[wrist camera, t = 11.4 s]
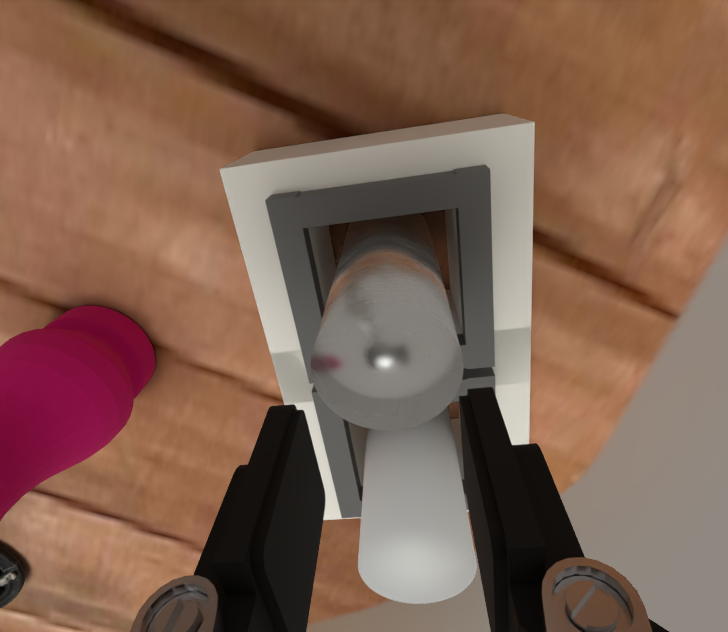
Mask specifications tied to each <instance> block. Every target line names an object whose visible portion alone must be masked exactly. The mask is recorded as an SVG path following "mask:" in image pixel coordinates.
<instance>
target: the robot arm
mask: <svg viewBox="0 0 728 632" xmlns="http://www.w3.org/2000/svg"><path fill="white" fill-rule="evenodd" d="M459 409H460V424H461V438H462V453H463V468H464V482H465V491H466V497H467V503H468V509H469V514H470V519H471V525H472V530H473V536H474V541H475V547H476V552H477V558H478V563H479V569H480V574H481V580H482V585H483V590H484V596H485V601H486V607H487V612H488V618H489V624H490V629H491V632H669V631H667V630H666V629H664V628H663V627H661V626H659V625H658V624H656V623H655V622H653V621H652V620H650V619H649V618H648V616H647V613H646V610H645V607H644V604H643V602H642V600H641V598H640V596H639V594H638V592H637V590H636V589H635V588H634V587H633V586H632V584H631V583H630V582H629V581H628V580H627V579H626V577H624V576H623V575H621V574H620V573H619V572H618V571H616V570H615V569H614V568H612V567H610V566H608V565H606V564H603V563H602V562H599V561H597V560H592V559H588V558H585V557H584V554H583V552H582V549H581V547H580V544H579V542H578V539H577V537H576V535H575V532H574V530H573V527H572V525H571V522H570V520H569V518H568V515H567V513H566V510H565V508H564V505H563V503H562V500H561V498H560V495H559V493H558V490H557V488H556V485H555V483H554V481H553V478H552V476H551V473H550V471H549V468H548V466H547V463H546V461H545V458H544V456H543V454H542V451H541V449H540V447H539V446H538V444H537V443H535V444H521V445H512V444H511V441H510V438H509V435H508V432H507V429H506V426H505V423H504V420H503V417H502V414H501V411H500V408H499V405H498V402H497V399H496V396H495V393H494V390H493V388H492V387H484V388H472V389H468V390H467V395H466V396H459ZM325 501H326V499H325V490H324V486H323V482H322V478H321V474H320V470H319V466H318V462H317V458H316V454H315V451H314V447H313V443H312V439H311V435H310V431H309V427H308V423H307V419H306V415H305V412H304V410H297V408H296V406H295V405H294V404H291V405H279V406H271V407H270V408H269V410H268V412H267V415H266V418H265V420H264V423H263V426H262V428H261V431H260V434H259V436H258V439H257V442H256V445H255V447H254V450H253V453H252V455H251V458H250V461H249V463H248V465H240V466H239V467H238V468H237V469H236V471H235V472H234V474H233V477H232V479H231V482H230V484H229V487H228V489H227V492H226V495H225V497H224V500H223V502H222V505H221V507H220V510H219V512H218V515H217V517H216V520H215V522H214V525H213V527H212V530H211V532H210V535H209V537H208V540H207V542H206V545H205V547H204V550H203V552H202V555H201V557H200V560H199V562H198V565H197V567H196V570H195V572H194V575H193V576H184V577H180V578H177V579H174V580H172V581H170V582H169V583H167V584H165V585H164V586H162V587H160V588H159V589H158V590H157V591H156V592H155V593H154V594H152V595H151V596H150V597H149V598H148V600H147V601H146V602H145V603H144V605H143V606H142V607H141V609H140V610H139V612H138V614H137V616H136V618H135V620H134V622H133V625H132V628H131V631H130V632H306V629H307V623H308V616H309V609H310V603H311V596H312V590H313V583H314V577H315V570H316V564H317V557H318V550H319V544H320V537H321V531H322V524H323V518H324V511H325Z"/></svg>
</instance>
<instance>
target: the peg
mask: <svg viewBox="0 0 728 632" xmlns="http://www.w3.org/2000/svg"><path fill="white" fill-rule="evenodd" d="M311 375H312V380H313V383H314V386H315V388H316V390H317V392H318V394H319V396H320V397H321V399H322V400H323V401H324V403H325V404H326V405H327V406H328V407H329V408H330V409H331V410H332V411H333V412H335V413H336V414H337V415H339V416H340V417H342V418H343V419H345V420H347V421H349V422H351V423H353V424H356V425H358V426H361V427H365V428H369V429H375V430H385V431H388V430H401V429H407V428H411V427H415V426H417V425H420V424H423V423H425V422H427V421H429V420H431V419H432V418H434V417H435V416H437V415H438V414H440V413H441V412H442V411H443V410H444V409H445V408H446V407H447V406H448V405H449V404H450V403H451V402H452V400H453V399H454V397H455V396H456V394H457V392H458V390H459V388H460V385H461V382H462V377H463V357H462V352H461V349H460V345H459V341H458V337H457V333H456V329H455V326H454V322H453V318H452V314H451V310H450V306H449V303H448V299H447V295H446V291H445V287H444V283H443V280H442V276H441V272H440V268H439V264H438V261H437V257H436V253H435V249H434V245H433V241H432V238H431V234H430V230H429V227H428V225H427V223H426V221H425V219H424V218H423V217H422V216H421V214H420V213H416V214H408V215H400V216H393V217H385V218H378V219H370V220H362V221H355V222H351V223H350V225H349V227H348V230H347V233H346V237H345V240H344V244H343V247H342V251H341V254H340V258H339V261H338V265H337V268H336V272H335V275H334V279H333V282H332V286H331V289H330V293H329V296H328V300H327V303H326V307H325V310H324V314H323V317H322V320H321V324H320V327H319V331H318V334H317V338H316V341H315V345H314V348H313V352H312V357H311Z"/></svg>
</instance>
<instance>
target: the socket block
mask: <svg viewBox="0 0 728 632" xmlns="http://www.w3.org/2000/svg"><path fill="white" fill-rule="evenodd" d="M534 132H535V122H533V121H530V120H526V119H523V118H519V117H516V116H512V115H509V114H505V113H502V114H496V115H489V116H483V117H476V118H470V119H463V120H456V121H450V122H443V123H437V124H430V125H424V126H417V127H410V128H404V129H397V130H391V131H384V132H378V133H371V134H364V135H358V136H351V137H345V138H338V139H332V140H325V141H318V142H312V143H305V144H299V145H292V146H286V147H279V148H273V149H266V150H259V151H253V152H251V153H249V154H247V155H245V156H243V157H241V158H239V159H238V160H236V161H234V162H232V163H230V164H228V165H226V166H224V167H222V168H220V169H219V170H220V174H221V177H222V181H223V184H224V188H225V192H226V195H227V199H228V202H229V206H230V210H231V213H232V217H233V220H234V224H235V228H236V231H237V235H238V239H239V242H240V246H241V249H242V253H243V257H244V260H245V264H246V267H247V271H248V275H249V278H250V282H251V285H252V289H253V293H254V296H255V300H256V303H257V307H258V311H259V314H260V318H261V321H262V325H263V329H264V332H265V336H266V339H267V343H268V347H269V350H270V354H271V357H272V361H273V365H274V368H275V372H276V375H277V379H278V383H279V386H280V390H281V393H282V397H283V401H284V404H285V405H291V404H294V405H295V406H296V408H297V410H304V412H305V415H306V419H307V423H308V427H309V431H310V435H311V439H312V443H313V447H314V451H315V454H316V458H317V462H318V466H319V470H320V474H321V478H322V482H323V486H324V490H325V499H326V501H325V511H324V518H323V520H332V519H348V518H361V527H360V542H359V557H358V570H359V573H360V576H361V578H362V579H363V581H364V582H365V583H366V585H367V586H368V587H370V588H371V589H372V590H373V591H375V592H376V593H378V594H380V595H382V596H384V597H386V598H389V599H391V600H395V601H399V602H404V603H413V604H424V603H433V602H438V601H442V600H445V599H448V598H451V597H453V596H455V595H457V594H459V593H460V592H462V591H463V590H464V589H466V588H467V587H468V586H469V584H470V583H471V582H472V580H473V579H474V576H475V573H476V567H477V564H476V559H475V553H474V547H473V541H472V536H471V530H470V525H469V519H468V513H467V511H469V509H468V503H467V497H466V491H465V482H464V468H463V453H462V438H461V424H460V409H459V396H466V395H467V390H468V389H472V388H484V387H492V388H493V390H494V393H495V396H496V399H497V402H498V405H499V408H500V411H501V414H502V417H503V420H504V423H505V426H506V429H507V432H508V435H509V438H510V441H511V444H512V445H521V444H529V418H530V361H531V304H532V246H533V189H534ZM438 210H445V223H446V238H447V252H448V267H449V281H450V289H447V290H445V291H446V295H447V299H448V303H449V306H450V310H451V314H452V318H453V322H454V326H455V329H456V333H457V337H458V341H459V345H460V349H461V352H462V357H463V377H462V382H461V385H460V388H459V390H458V392H457V394H456V396H455V397H454V399H453V400H452V402H458V412H459V418H456V419H451V418H450V412H449V407H448V406H447V407H446V408H445V409H444V410H443V411H442V412H441V413H440V414H438V415H437V416H435V417H434V418H432V419H431V420H429V421H427V422H425V423H423V424H420V425H417V426H415V427H411V428H407V429H401V430H388V431H385V430H375V429H369V428H365V427H361V426H358V425H356V424H353V423H351V422H349V421H347V420H345V419H343V418H342V417H340V416H339V415H337V414H336V413H335V412H333V411H332V410H331V409H330V408H329V407H328V406H327V405H326V404H325V403H324V401H323V400H322V399H321V397H320V396H319V394H318V392H317V390H316V388H315V386H314V383H313V380H312V375H311V357H312V352H313V348H314V345H315V341H316V338H317V334H318V331H319V327H320V324H321V320H322V317H323V314H324V310H325V307H326V303H327V300H328V296H329V293H330V289H331V286H332V282H333V279H334V275H335V272H336V264H335V258H334V253H333V248H332V242H331V237H330V231H329V226H328V225H332V224H340V223H347V222H355V221H362V220H370V219H378V218H385V217H393V216H400V215H408V214H416V213H423V212H431V211H438Z"/></svg>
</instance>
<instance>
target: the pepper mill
mask: <svg viewBox="0 0 728 632" xmlns="http://www.w3.org/2000/svg"><path fill="white" fill-rule="evenodd" d="M155 363H156V359H155V354H154V349H153V346H152V344H151V342H150V341H149V339H148V337H147V335H146V334H145V333H144V332H143V330H142V329H141V328H140V327H139V326H138V325H137V324H136V323H135V322H133V321H132V320H131V319H129V318H128V317H126V316H125V315H123V314H121V313H118V312H116V311H114V310H112V309H109V308H105V307H100V306H80V307H76V308H73V309H70V310H68V311H67V312H65V313H64V314H62V315H61V316H59V317H58V318H57V319H55V320H54V321H52V322H51V323H50V324H48V325H47V326H46V327H45V328H43V329H36V330H31V331H27V332H24V333H21V334H19V335H17V336H15V337H13V338H11V339H9V340H8V341H7V342H5V343H4V344H3V345H2V346H1V347H0V520H1V519H2V518H3V516H4V515H5V514H6V513H7V512H8V511H9V510H10V508H11V507H12V506H13V505H14V504H15V503H16V502H17V501H18V500H19V499H20V498H21V497H22V496H24V495H25V494H26V493H27V492H29V491H30V490H31V489H33V488H34V487H35V486H37V485H38V484H39V483H41V482H43V481H44V480H46V479H48V478H50V477H51V476H53V475H55V474H57V473H59V472H62V471H64V470H66V469H68V468H70V467H72V466H74V465H76V464H78V463H80V462H82V461H83V460H85V459H87V458H89V457H90V456H92V455H93V454H95V453H96V452H97V451H99V450H100V449H102V448H103V447H104V446H106V445H107V444H108V443H109V442H110V441H111V440H112V439H113V438H114V437H115V436H116V435H117V434H118V433H119V432H120V431H121V430H122V428H123V427H124V426H125V425H126V423H127V421H128V419H129V417H130V415H131V412H132V408H133V400H134V398H135V397H136V396H137V395H138V394H139V393H140V392H141V390H142V389H143V388H144V387H145V385H146V384H147V383H148V382H149V380H150V379H151V377H152V375H153V373H154V370H155Z"/></svg>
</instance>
